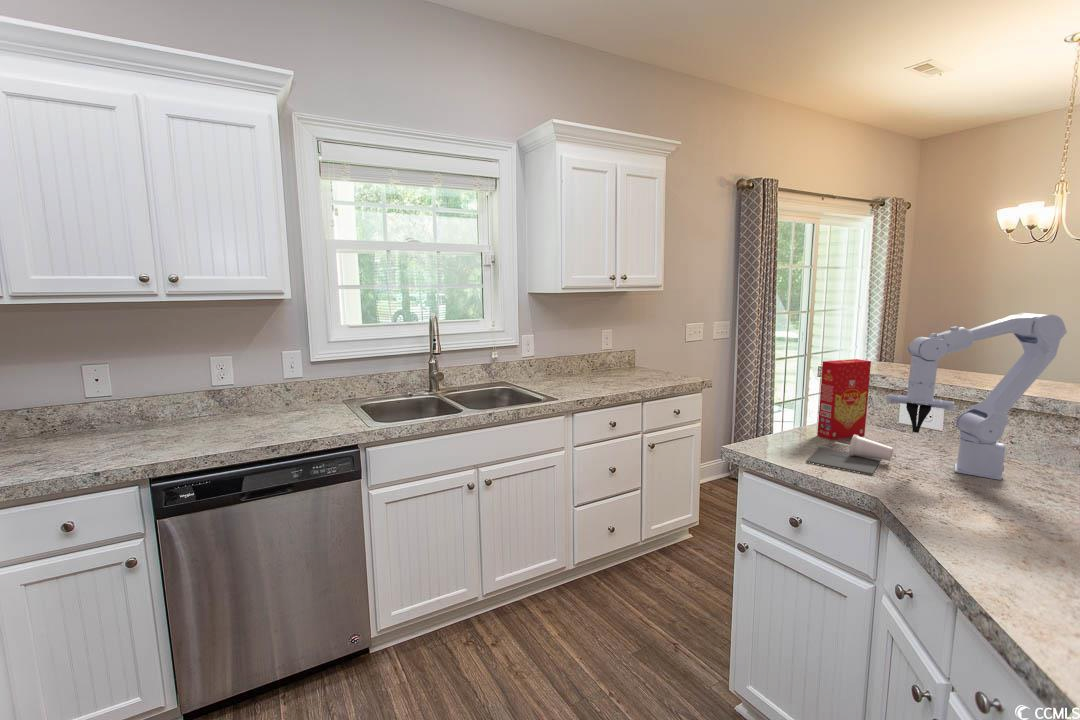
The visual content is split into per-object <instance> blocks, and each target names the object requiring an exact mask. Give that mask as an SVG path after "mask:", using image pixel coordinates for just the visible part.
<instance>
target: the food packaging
mask: <svg viewBox="0 0 1080 720" xmlns="http://www.w3.org/2000/svg"><path fill="white" fill-rule="evenodd" d="M871 364H872V361H870V360H867V359H865V360H864V359H860V358H855V359H853V358H852V359H838V360H823V361H822V366H821V380H820V381H821V382H820V390H819V391H820V393H819V406H818V407H819V408H818V418H817V419H818V422H817V433H816V434H817V437H821V438H824V439H827V440H829V441H833V440H840V439H841V440H842V439H847V438H852V437H853V435H854V434H855V435H859V436H860V437H864V436H865V435H866V434H865V432H866V421H867V412H868V411H867V410H868V400H869V390H870V389H869V388H870V377H871V366H872V365H871Z"/></svg>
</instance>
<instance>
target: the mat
mask: <svg viewBox="0 0 1080 720" xmlns="http://www.w3.org/2000/svg"><path fill="white" fill-rule="evenodd" d="M881 460H882V459H875V458H868V457H861V456H850V455H849V451H844V450H838V449H832V448H829V447H822V446H821V447H820V446H818V448H816V450H814V452H813V453H812V454H811V455H810V456H809V457H808V458H807V459H806V461H805V463H806V462H810V463H814V464H813V465H816V464H819V465H818V466H821V465H824V466H823V467H826V466H830V467H829V468H831V467H835V468H834V469H836V468H840V469H839V470H841V469H845V470H844V471H846V470H850V471H849V472H852V471H855V472H854V473H857V472H860V473H859V474H862V473H865V474H864V475H867V474H869V475H868V476H872V475H874V474H875V471H876V470H877V468H878V466H879V464H880V462H881ZM810 463H809V464H810Z"/></svg>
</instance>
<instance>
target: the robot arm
mask: <svg viewBox="0 0 1080 720" xmlns="http://www.w3.org/2000/svg"><path fill="white" fill-rule="evenodd" d="M1067 333H1068V332H1067V329H1066V326H1065V322H1064V320H1063V319H1062V317H1060V316H1058V315H1056V314H1049V313H1048V314H1040V313H1032V312H1031V313H1030V312H1021V313H1020V312H1019V313H1018V314H1011V315H1008V316H1006V317H1003V318H999V319H997V320H996V319H995V320H994V321H991V322H988V323H987V322H986V323H984V324H982V325H978V326H976V327H973V328H970V329H968V328H965V327H964V326H960V327H959V326H956V325H955V326H951V327H950V328H949V329H948V330H945V331H942V332H939V333H936V332H932V333H930V335H929V337H925V336H919V337H916V338H915V339H914V338H913V340H912V341H911V342H910V344H909V345H908V346H907V352H908V354H909V355H910V357H911V358H910V359H911V361H910V368H909V374H908V375H909V377H908V383H907V384H908V385H907V393H906V395H901V394H891V393H888V394H887V395H886V400H885V401H886V403H894V404H895V403H896V404H902V405H903V404H904V405H906V411H907V412H908V415H909V419H910V422H911V429H912V433H916V434H919V433H920V430H921V428H922V425H923V423H924V421H925V419H926V418H927V416H928V415H929V413H930V412H931V411H932V408H935V409H936V408H937V409H945V410H949V411H954V409H955V401H951V400H943V399H937V398H934V395H935V394H934V393H935V388H936V387H935V386H936V379H937V371H938V362H939V360H940V359H941V358H942V357H943V356H944V355H945V356H946V355H948V354H952V353H956V352H960V351H962V350H966V349H969V348H971V347H972V346H973V344H974V343H975V342H977V341H981V340H986V339H990V338H995V337H998V336H1002V335H1003V336H1004V335H1007V334H1013V335H1014V337H1015V338H1016V339H1017V340H1018V342H1019V343H1020V344H1021V345H1022V346H1021V347H1022V349H1023V353H1022V355H1021V356H1020V358H1018V360H1017V361H1016V362H1015V363H1014V364H1013V365H1012V367H1010V369H1009V370H1008V372H1006V374H1005V375H1004V376H1003V377H1002V378H1001V380H1000V381H999V382H998V383H997V384H996V385H995V386H994V387H993V389H992V390H991V392H990V393H989V394H988V395H987V396H986V398H984V400H983V401H980V402H977V403H975V404H973V405H971V406H970V407H969V409H967V410H966V411H964V412H961V413H960V414H959V415H958V416H957V418H956V421H955V426H956V428H957V430H959V433H960V434H959V444H958V452H957V460H956V462H955V463H954V473H957V474H958V473H959V474H964V475H969V476H977V477H982V478H988V479H992V480H998V481H1001V480H1002V479H1003V478H1002V477H1003V472H1004V471H1005V464H1004V463H1005V462H1004V461H1005V456H1006V455H1005V454H1006V444H1005V443H1002V442H997V441H999V440H1000V439H1001V438H1002V437H1003V435H1004V432H1005V428H1006V427H1007V425H1008V424H1009V423H1010V421H1009V418H1008V412H1009V411H1010V410H1011V409H1012V408H1013V407H1014V405H1015V404H1016V403H1017V402H1018V401H1019V399H1020V398H1021V397H1022V396H1023V395H1024V394H1025V393H1026V392H1027V390H1028V389H1029V388H1030V387H1031V386H1032V384H1033V383H1034V382H1035V381H1036V380H1037V379H1038V378H1039V376H1041V374H1042V373H1043V372H1044V371H1045V370H1046V369H1047V367H1048V366H1049V365H1050V364H1051V363H1052V362H1053V361H1054V359H1055V358H1056V356H1057V353H1058V349H1059V347H1060V342H1061V340H1062V339H1063V337H1064V336H1065V335H1066V334H1067Z"/></svg>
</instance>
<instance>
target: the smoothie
mask: <svg viewBox="0 0 1080 720" xmlns="http://www.w3.org/2000/svg"><path fill="white" fill-rule="evenodd" d="M834 444H835V445H839V446H844V447H847V448H849V449H848V452H849V455H850V456H861V457H868V458H875V459H881V460H882V461H888V462H889V461H891V460H892V457H893V453H894V447H892V446H889V445H885V444H883V443H881V442H877V441H874V440H871V439H868V438H865V437H864V436H859V435H855V434H854V435H853V437H851V440H850V443H849V444H847V443H843V442H839V441H834Z"/></svg>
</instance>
